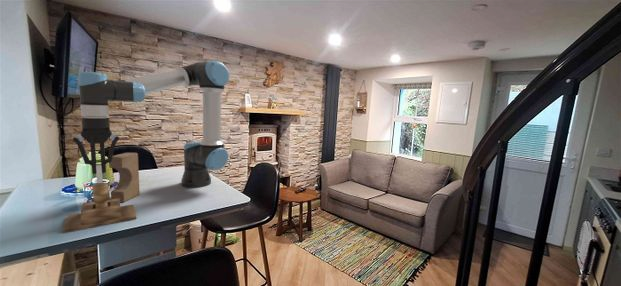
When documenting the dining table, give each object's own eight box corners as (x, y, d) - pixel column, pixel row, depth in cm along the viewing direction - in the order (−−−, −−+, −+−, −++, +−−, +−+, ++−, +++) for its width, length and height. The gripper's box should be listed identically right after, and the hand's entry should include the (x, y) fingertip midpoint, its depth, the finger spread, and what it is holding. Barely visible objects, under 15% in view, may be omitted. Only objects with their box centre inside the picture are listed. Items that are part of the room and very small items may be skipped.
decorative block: (123, 202, 110) (120, 157, 108) (110, 202, 110) (107, 156, 108) (140, 194, 121) (138, 152, 119) (128, 193, 121) (126, 152, 119)
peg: (109, 212, 98) (108, 182, 97) (109, 216, 95) (107, 185, 93) (94, 214, 96) (92, 183, 94) (94, 219, 92) (92, 187, 91)
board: (133, 206, 107) (133, 195, 106) (136, 218, 96) (135, 206, 95) (68, 217, 95) (67, 204, 94) (62, 232, 84) (61, 218, 83)
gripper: (118, 117, 97) (121, 177, 100) (71, 116, 89) (76, 181, 93) (118, 118, 91) (122, 182, 95) (69, 117, 83) (74, 187, 87)
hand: (99, 181), depth 94 cm, fingers closed
